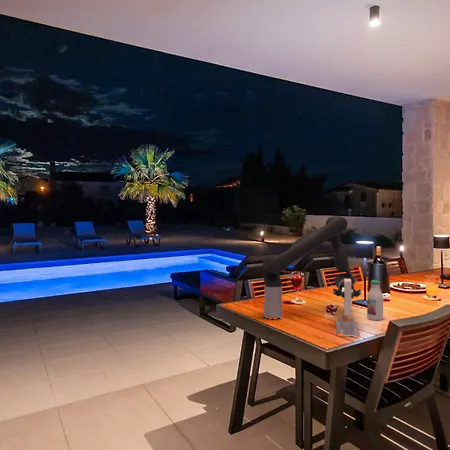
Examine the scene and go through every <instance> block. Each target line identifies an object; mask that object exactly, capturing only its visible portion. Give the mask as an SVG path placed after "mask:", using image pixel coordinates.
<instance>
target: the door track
mask: <svg viewBox="0 0 450 450" xmlns="http://www.w3.org/2000/svg"><path fill="white" fill-rule="evenodd" d="M335 327H336V328H337V330H336V334H337V333H340V334H344V335H355V336H360V337H361V335H360V330H359V325H358V322H357V321H355V317H354V316H351V317H350V321H344V320H343V318H342V316H340V315H339V316H338V320H336V321H335Z"/></svg>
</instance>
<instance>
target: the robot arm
mask: <svg viewBox="0 0 450 450" xmlns="http://www.w3.org/2000/svg"><path fill="white" fill-rule="evenodd" d="M347 227H348V220H347V218H345V217H343V216H339V215H337V216H330V217H328V218H327V219H326V221H325V225H324V226H322V227H319V228H317V229H315V230H311V231H310V232H307V233H305V234H304V235H302V236H301V237H299V238H297V239H296V240H295V241H294V242H293V243H292V244H291V246H290V247H289V248H288V249H287V250H286V251H284V252H282V253H280V254H278V255H274V254H268V255H266V256H265V257H264V259H263V262H262V277H263V282H264V300H263V314H264V315H263V317H268V318H280V317H282V318H283V280H282V278H281V276H280V273H282V272H283V271H285V269H287V268H288V267H289V266H291V265H292V264H294V262H296V261H298V260H299V259H301V258H302V257H304V256H306V255H307V254H309V253H311V252H312V251H314V250H315V249H317V248H318V247H320V246H321V245H322V244H324V243H326V242H327V241H328V240H329V241H330V244H331V249H332V253H333V257H334V258H333V259H334V264H335V269H336V271H338V272H344V273H346V274H339V275H336V276H335V277H334V281H333V282H334V285H335V287H336V288H337V289H336V288H333V289H332V293H333V295H335V296H336V297H341V298H342V299H343V300H344V299H345V293H344V279H351V300H353V299H354V298H359V296H361V295H362V290H361V289H360V288H359V289H355V287H354V286H355V284H356V283H355V281H356V279H355V278H354V275H353V274H352V273H353V272H351V268H350V265H349V259H348V253H347V251H346V248H345V247H344V245H343V242H342V240H341V234H342V233H343V232H345V230H347Z"/></svg>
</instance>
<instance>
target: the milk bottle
mask: <svg viewBox="0 0 450 450" xmlns="http://www.w3.org/2000/svg"><path fill="white" fill-rule="evenodd" d="M370 285H371V286H370V289H369V291H368V294H367V300H366V301H367V306H366V308H367V311H366V312H367V313H366V314H367V315H366V316H367V319H368V318H369V320H370V319H371V320H370V321H382V320H384V296H383V295H384V294H383V293H382V290H381V281H380V280H378V279H372V280H370Z"/></svg>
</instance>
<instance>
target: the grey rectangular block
mask: <svg viewBox="0 0 450 450" xmlns="http://www.w3.org/2000/svg"><path fill="white" fill-rule="evenodd" d="M344 293H345V299H344V298H343V313H344V314H343V315H344V316H352V299H351V279H344Z"/></svg>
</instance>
